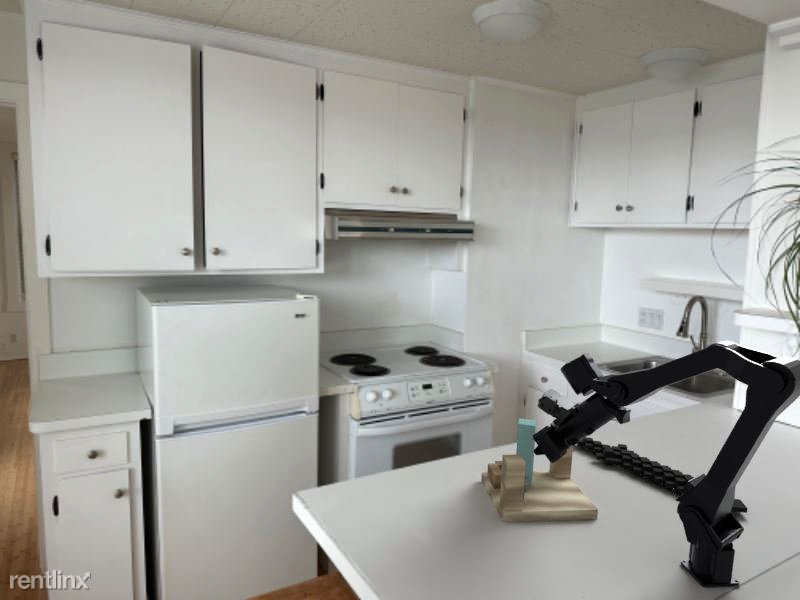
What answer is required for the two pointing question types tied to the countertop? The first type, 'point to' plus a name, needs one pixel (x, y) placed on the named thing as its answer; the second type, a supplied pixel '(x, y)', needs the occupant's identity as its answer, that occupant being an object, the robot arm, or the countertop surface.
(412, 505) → the countertop surface
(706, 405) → the countertop surface
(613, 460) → the black segmented strip
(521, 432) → the folding leg
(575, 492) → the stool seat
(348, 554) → the countertop surface
